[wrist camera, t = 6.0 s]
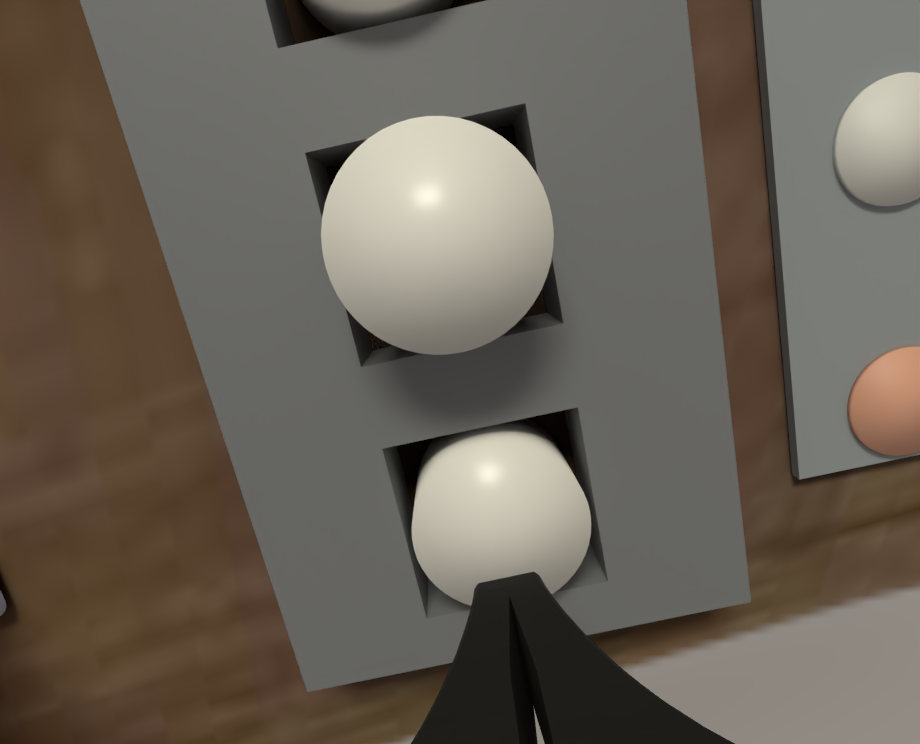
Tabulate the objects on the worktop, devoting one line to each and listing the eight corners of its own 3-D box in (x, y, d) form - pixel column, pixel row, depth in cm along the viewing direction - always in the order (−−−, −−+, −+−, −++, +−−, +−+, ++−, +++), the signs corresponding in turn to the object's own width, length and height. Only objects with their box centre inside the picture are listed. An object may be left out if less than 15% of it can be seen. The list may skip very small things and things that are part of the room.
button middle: (372, 349, 16) (354, 375, 13) (325, 166, 15) (293, 145, 11) (545, 312, 16) (571, 329, 12) (512, 124, 14) (531, 91, 11)
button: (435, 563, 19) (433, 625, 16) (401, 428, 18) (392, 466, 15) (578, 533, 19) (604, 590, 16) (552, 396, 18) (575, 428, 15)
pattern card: (791, 474, 19) (803, 482, 18) (733, -229, 14) (745, -250, 14) (998, 432, 19) (1015, 437, 18) (1004, -294, 14) (1027, -317, 14)
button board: (324, 636, 20) (307, 691, 17) (66, -191, 14) (-13, -281, 12) (712, 557, 19) (751, 602, 17) (604, -321, 14) (639, -442, 11)
